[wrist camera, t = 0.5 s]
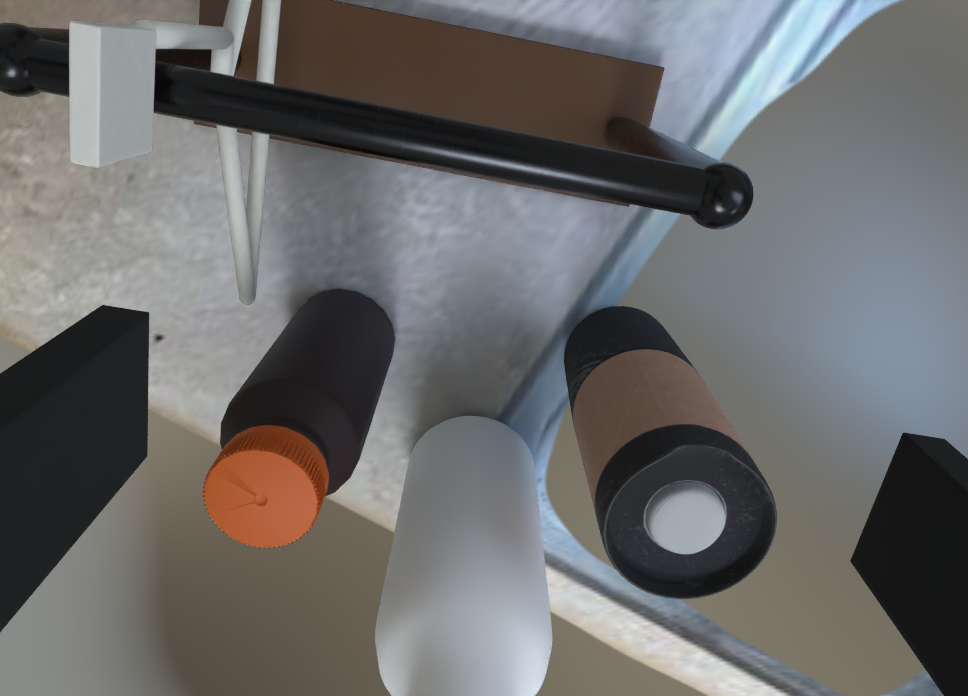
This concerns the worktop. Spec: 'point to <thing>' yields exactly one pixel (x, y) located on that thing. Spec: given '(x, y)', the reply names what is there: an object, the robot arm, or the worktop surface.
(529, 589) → the alcohol
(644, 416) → the travel mug
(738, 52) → the worktop surface
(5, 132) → the worktop surface
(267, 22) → the hanger
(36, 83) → the rail
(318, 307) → the bottle
